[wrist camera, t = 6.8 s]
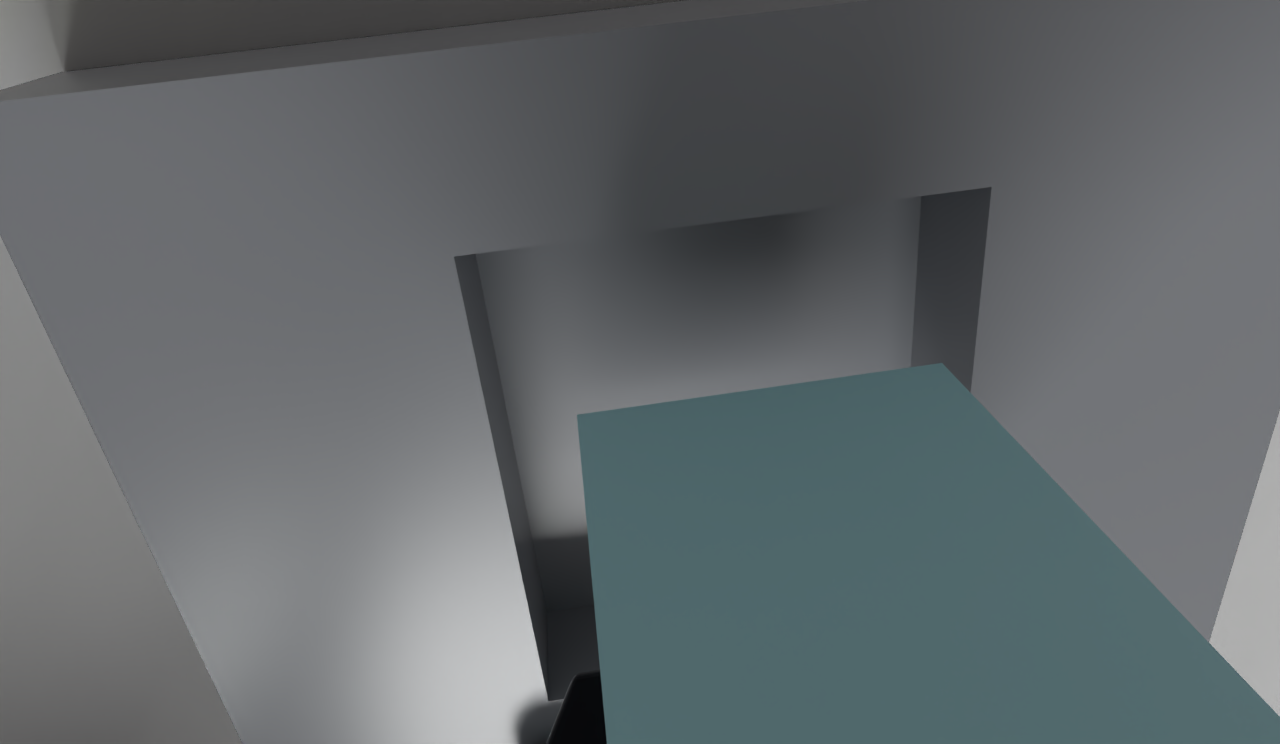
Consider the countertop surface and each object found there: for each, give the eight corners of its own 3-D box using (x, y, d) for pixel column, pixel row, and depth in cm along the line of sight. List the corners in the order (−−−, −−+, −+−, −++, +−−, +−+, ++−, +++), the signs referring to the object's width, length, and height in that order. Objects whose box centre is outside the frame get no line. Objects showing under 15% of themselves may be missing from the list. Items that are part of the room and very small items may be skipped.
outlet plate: (320, 716, 16) (271, 898, 13) (61, 72, 11) (-129, 128, 8) (1109, 592, 17) (1235, 736, 14) (1255, -66, 12) (1517, -65, 8)
